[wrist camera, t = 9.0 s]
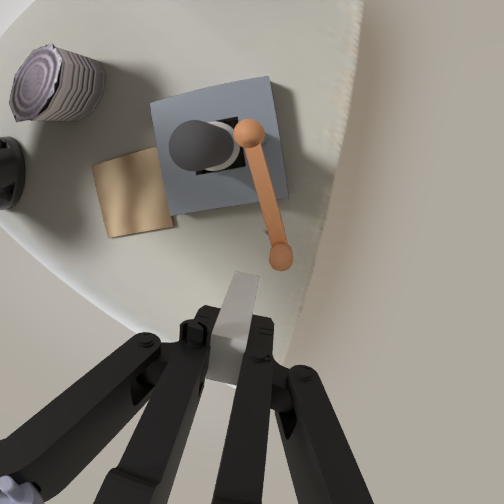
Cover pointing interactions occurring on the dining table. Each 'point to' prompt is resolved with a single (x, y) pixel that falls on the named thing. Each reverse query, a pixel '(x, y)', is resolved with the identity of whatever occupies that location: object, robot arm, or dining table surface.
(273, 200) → the ball-ended peach stick
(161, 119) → the socket
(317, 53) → the dining table surface
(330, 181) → the dining table surface
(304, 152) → the dining table surface
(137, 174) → the coaster
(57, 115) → the can
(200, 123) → the plug
